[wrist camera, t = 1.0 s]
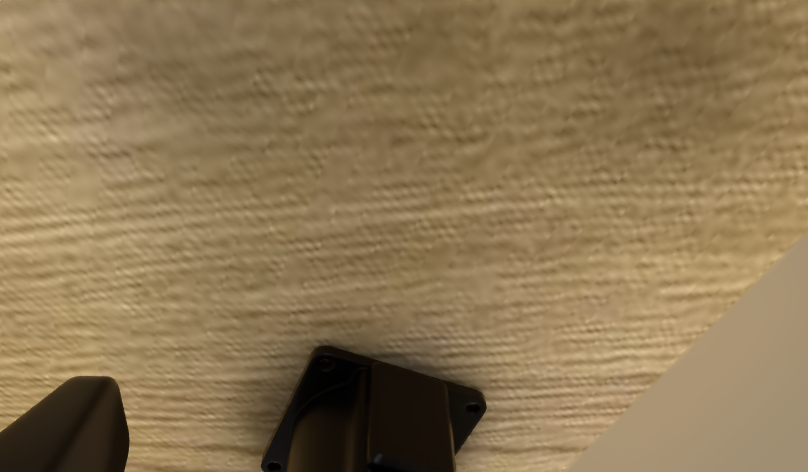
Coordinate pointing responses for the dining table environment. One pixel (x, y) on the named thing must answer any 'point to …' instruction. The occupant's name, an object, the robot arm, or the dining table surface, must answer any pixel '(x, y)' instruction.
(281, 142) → the dining table surface
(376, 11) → the dining table surface
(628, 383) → the dining table surface
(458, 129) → the dining table surface
